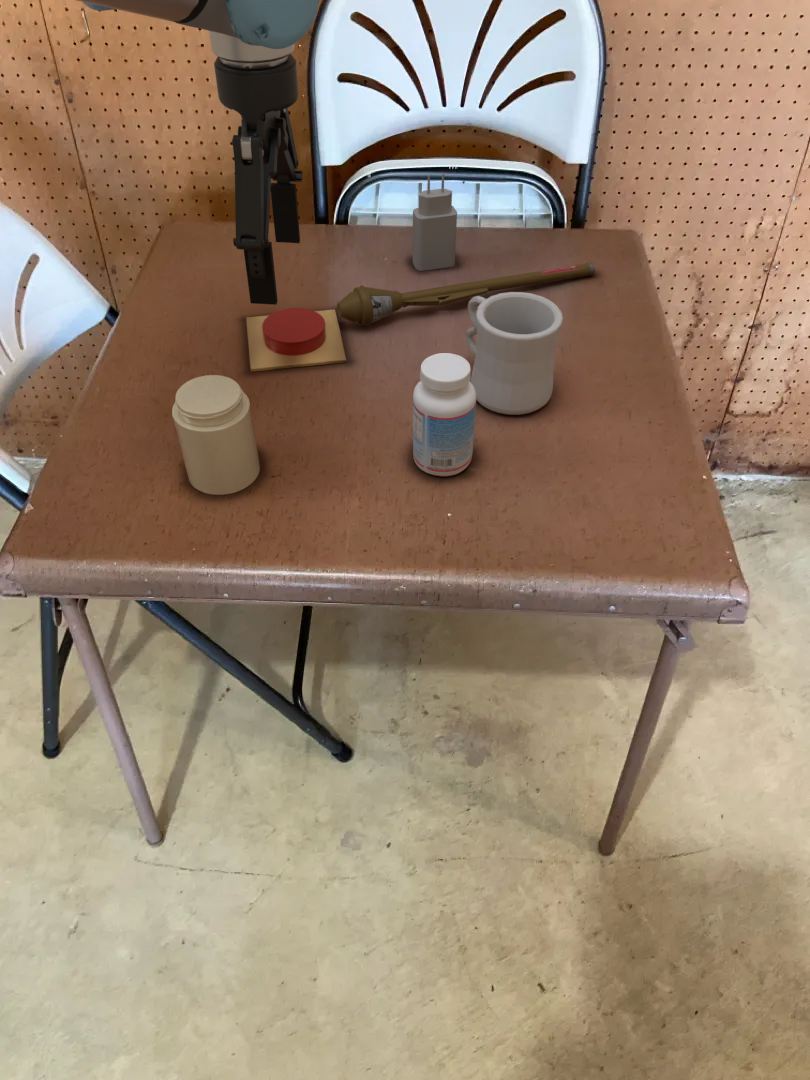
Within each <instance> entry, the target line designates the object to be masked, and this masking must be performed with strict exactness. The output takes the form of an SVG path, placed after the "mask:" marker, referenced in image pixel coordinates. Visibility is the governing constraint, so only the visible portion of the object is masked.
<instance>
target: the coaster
mask: <svg viewBox="0 0 810 1080" xmlns="http://www.w3.org/2000/svg"><path fill="white" fill-rule="evenodd" d="M314 311H315V312H317V313H319V314H320V315H321V316H322V317H323V318H324V320H325V328H326V340H325V342H324V344H323V345H322V346H321V347H319V348H318V349H317V350H315V351H313V352H310V353H307V354H302V355H282V354H278V353H276V352H273V351H271V350H270V349H269V348H268V347H267V346H266V345H265V343H264V338H263V331H262V324H263V322H264V320H265V319H266V318H267V317H268V316H269V315H270V314H269V315H268V314H267V315H260V316H259V315H257V316H247V317H245V320H246V321H245V323H246V331H247V345H248V355H249V367H250V368H249V369H250V372H251V373H252V372H262V371H272V370H274V371H275V370H283V369H292V368H303V367H313V366H321V365H332V364H333V365H334V364H340V363H341V364H342V363H343V364H345V363H347V357H346V352H345V347H344V343H343V338H342V335H341V330H340V325H339V321H338V317H337V311H336V309H335V308H333V309H325V310H314Z"/></svg>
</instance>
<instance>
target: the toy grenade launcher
mask: <svg viewBox="0 0 810 1080" xmlns="http://www.w3.org/2000/svg"><path fill="white" fill-rule="evenodd" d="M595 273H596V266H595V264H594V262H586V263H582V264H576V265H569V266H563V267H556V268H551V269H544V270H538V271H532V272H525V273H520V274H513V275H506V276H500V277H494V278H487V279H481V280H475V281H470V282H464V283H458V284H451V285H445V286H444V285H443V286H438V287H431V288H427V289H418V290H414V291H406V292H402V293H401V292H400V291H397V290H391V289H390V290H389V289H383V288H376V287H370V286H369V287H368V286H365V285H360V286H357V287H356V286H355V287H354V288H353V289H352V291H350V292H349V293H348V294H346V295H345V296H344V297H343V298H342V299H341V300H339V301H338V302H337V304H336V310H337V311H336V312H337V314H338V317H340V318H343V319H344V320H347V321H349V322H352V323H354V324H358V325H359V326H366V327H368V326H370V325H371V324H372V323H375V322H376V321H378V320H380V319H383V318H385V317H387V316H389V315H391V314H393V313H394V312H397V311H399V310H400V309H402V308H407V307H435V306H436V307H443V306H447V305H450V304H455V303H458V302H463V301H466V300H471V298H473V297H476V296H482V295H485V294H488V293H491V292H496V291H502V290H503V291H504V290H508V289H515V288H520V287H526V286H533V285H538V284H539V285H540V284H545V283H551V282H558V281H563V280H568V279H574V278H575V279H576V278H580V277H581V278H582V277H589V276H594V274H595Z"/></svg>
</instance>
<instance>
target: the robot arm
mask: <svg viewBox="0 0 810 1080" xmlns="http://www.w3.org/2000/svg"><path fill="white" fill-rule="evenodd" d="M76 1H78V2H81V3H82V4H83V5H85V6H86V7H88V8H89V9H91V10H93V11H96V12H97V11H98V12H105V11H114V10H118V11H123V12H128V13H132V14H137V15H141V16H144V17H145V16H146V17H149V18H154V19H158V20H163V21H168V22H171V23H172V22H173V23H175V24H178V25H182V26H187V27H191V28H195V29H199V30H204V31H208V32H209V33H208V34H209V40H210V47H211V49H210V50H211V52H212V53H213V55H215V56H216V58H215V60H214V62H213V67H214V74H215V82H216V89H217V95H218V96H217V97H218V100H219V103H221V105H222V106H224V107H225V108H227V109H228V110H232V111H234V112H236V113H238V114H239V115H240V117H241V121H240V123H241V125H239V126H238V127H237V134H233V136H232V139H231V145H232V149H233V150H232V152H233V160H234V161H233V162H234V211H235V212H234V213H235V214H234V215H235V237H233V238H232V242H233V246H234V247H235V248H236V249H237V250H243V257H244V263H245V264H244V265H245V271H246V279H247V284H248V294H249V300H250V304H256V305H273V306H277V304H278V303H279V302H278V301H279V300H278V291H277V290H278V289H277V281H276V271H275V264H274V261H275V260H274V253H273V243H272V241H270V239H269V232H270V231H269V230H270V211H271V207H272V219H273V228H274V238H275V243H283V244H285V243H287V244H300V242H301V232H300V222H299V221H300V220H299V208H298V196H297V185H296V183H303V170H298V169H299V165H300V163H299V162H300V161H299V159H298V152H297V148H296V144H295V143H296V142H295V140H294V139H295V138H294V134H293V129H292V124H291V119H290V113H289V108H290V107H293V105H295V104H296V102H297V101H298V99H299V81H298V68H297V59H296V58H295V57H294V55H292V53H293V52H294V51H295V44H296V43H298V42H300V40H302V39H303V38H304V36H305V35H307V33H308V32H309V30H310V29H311V27H312V25H313V24H314V21H315V20H316V18H317V15H318V11H319V3H320V1H321V0H76ZM272 181H273V182H272ZM275 181H276V182H275ZM295 182H296V183H295Z"/></svg>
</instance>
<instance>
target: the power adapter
mask: <svg viewBox="0 0 810 1080" xmlns="http://www.w3.org/2000/svg"><path fill="white" fill-rule="evenodd" d="M426 188H427V190H422V191H421V192H420V193H418V207H416V208H414V209H412V257H411V258H412V260H411V261H412V262H411V263H412V265H413V266H414V268H415V270H417V271H419V272H424V271H432V270H439V269H446V268H452V267H455V264H456V246H457V245H456V244H457V223H458V211H457V209H456V208H455V207H454V206H453V205H452V203H453V191H452V190H451V189H448V188H445V173H444V172H442V173H441V188H434V189H431V174H428V175H427V187H426Z"/></svg>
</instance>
